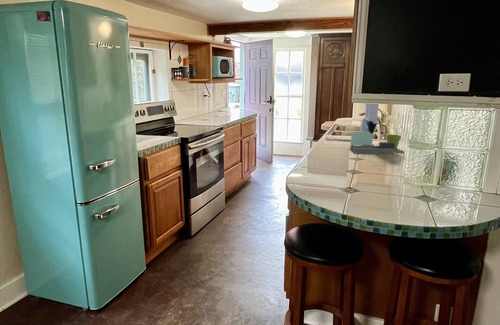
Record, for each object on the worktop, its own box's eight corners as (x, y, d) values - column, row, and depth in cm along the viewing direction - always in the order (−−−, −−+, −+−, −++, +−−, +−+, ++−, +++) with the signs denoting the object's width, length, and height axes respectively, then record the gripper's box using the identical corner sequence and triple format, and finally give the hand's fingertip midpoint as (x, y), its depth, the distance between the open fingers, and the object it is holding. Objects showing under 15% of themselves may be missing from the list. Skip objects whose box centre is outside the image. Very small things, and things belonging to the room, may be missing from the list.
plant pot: (397, 147, 227) (398, 134, 225) (401, 150, 218) (403, 137, 216) (382, 146, 228) (384, 134, 226) (386, 149, 219) (388, 136, 217)
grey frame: (349, 149, 219) (349, 139, 218) (387, 149, 219) (388, 140, 218) (353, 153, 209) (354, 143, 207) (393, 153, 209) (394, 143, 207)
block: (378, 151, 215) (379, 142, 213) (391, 151, 215) (392, 142, 213) (380, 152, 211) (381, 143, 210) (393, 153, 211) (394, 143, 210)
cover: (351, 144, 216) (351, 144, 217) (370, 145, 216) (369, 145, 217) (351, 131, 216) (351, 131, 217) (370, 132, 216) (370, 132, 216)
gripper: (362, 111, 223) (360, 131, 226) (370, 113, 209) (368, 135, 212) (373, 111, 223) (371, 131, 226) (382, 113, 209) (379, 135, 212)
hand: (370, 133), depth 219 cm, fingers closed
